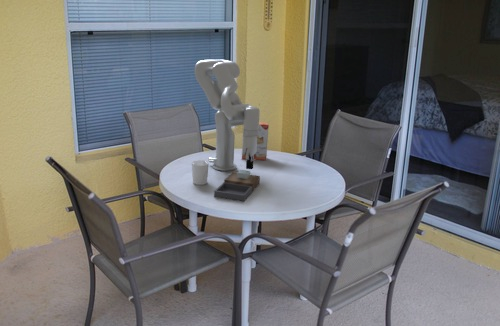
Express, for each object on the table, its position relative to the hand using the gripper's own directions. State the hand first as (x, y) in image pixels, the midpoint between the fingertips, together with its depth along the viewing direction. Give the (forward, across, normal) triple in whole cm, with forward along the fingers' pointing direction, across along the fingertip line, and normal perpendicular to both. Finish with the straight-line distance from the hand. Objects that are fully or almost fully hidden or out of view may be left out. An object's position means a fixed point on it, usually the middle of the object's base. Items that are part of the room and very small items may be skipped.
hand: (249, 168), depth 244 cm
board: (+6, +11, 0) cm, 12 cm away
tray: (+6, +24, 0) cm, 24 cm away
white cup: (+6, +15, -20) cm, 26 cm away
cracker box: (+5, -34, -7) cm, 35 cm away
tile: (+2, +9, 0) cm, 9 cm away
